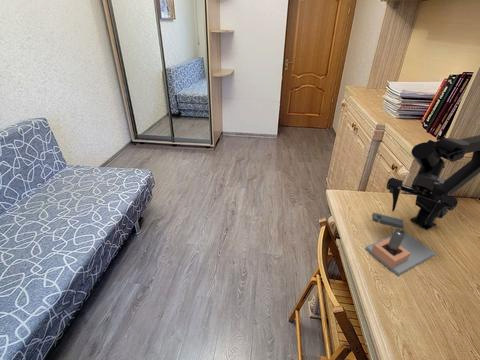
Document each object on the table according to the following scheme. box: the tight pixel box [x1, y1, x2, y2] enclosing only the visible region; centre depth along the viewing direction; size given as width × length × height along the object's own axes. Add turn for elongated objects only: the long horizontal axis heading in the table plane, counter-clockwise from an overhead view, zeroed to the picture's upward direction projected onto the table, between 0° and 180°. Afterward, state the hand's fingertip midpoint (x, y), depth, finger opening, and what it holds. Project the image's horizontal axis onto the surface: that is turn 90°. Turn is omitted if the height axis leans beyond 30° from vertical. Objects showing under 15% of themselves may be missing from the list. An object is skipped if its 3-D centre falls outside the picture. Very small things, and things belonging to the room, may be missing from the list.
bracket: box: [371, 212, 404, 230], centre depth 100 cm, size 4×10×2 cm, turn 67°
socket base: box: [364, 229, 437, 277], centre depth 86 cm, size 19×12×4 cm, turn 117°
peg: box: [386, 228, 406, 256], centre depth 81 cm, size 3×3×10 cm
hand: (408, 217), depth 82 cm, fingers open, 9 cm apart
